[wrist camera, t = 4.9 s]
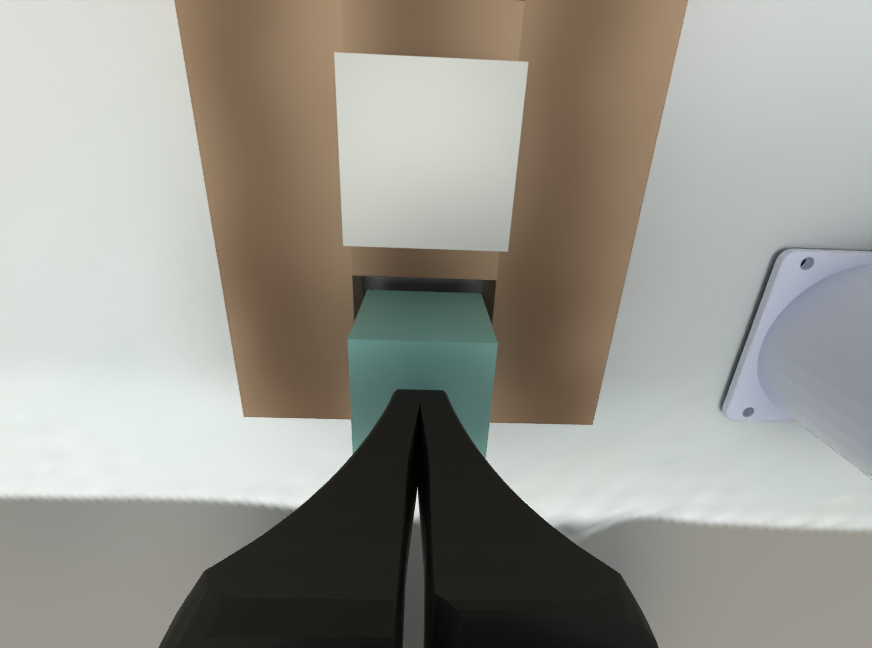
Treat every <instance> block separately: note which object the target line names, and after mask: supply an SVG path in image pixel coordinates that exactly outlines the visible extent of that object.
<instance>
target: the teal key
mask: <svg viewBox="0 0 872 648" xmlns="http://www.w3.org/2000/svg"><path fill="white" fill-rule="evenodd" d="M497 348H498V342H497V339H496V336H495V333H494V330H493V327H492V324H491V321H490V318H489V315H488V312H487V309H486V306H485V303H484V300H483V297H482V294H481V293H457V292H426V291H395V290H367V291H366V294H365V296H364V299H363V301H362V304H361V306H360V309H359V311H358V314H357V317H356V319H355V322H354V324H353V327H352V329H351V332H350V334H349V337H348V360H349V381H350V402H351V424H352V445H353V454H354V452H355V451H356V450H357V449H358V447H359V446H360V445H361V444H362V442H363V441H364V440H365V439H366V437H367V436H368V434H369V433H370V432H371V430H372V429H373V427H374V426H375V424H376V423H377V421H378V420H379V418H380V417H381V415H382V414H383V412H384V410H385V409H386V407H387V405H388V403H389V401H390V399H391V397H392V395H393V393H394V392H395V391H396V390H397V389H412V390H444V391H445V392H446V394H447V395H448V398H449V401H450V403H451V405H452V407H453V409H454V411H455V413H456V415H457V417H458V419H459V420H460V422H461V424H462V425H463V427H464V429H465V430H466V432H467V433H468V435H469V436H470V438H471V440H472V441H473V443H474V444H475V445H476V447H477V448H478V450H479V451H480V452H481V454H482V455H483V456H484V458H486V449H487V440H488V431H489V421H490V412H491V403H492V394H493V385H494V375H495V366H496V357H497Z"/></svg>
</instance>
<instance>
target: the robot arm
mask: <svg viewBox="0 0 872 648" xmlns="http://www.w3.org/2000/svg"><path fill="white" fill-rule="evenodd" d="M805 258H806V262H805V263H804V264H803V265H802V266H801V267H800V265H801V262H802V261H803V260H804V259H805ZM746 408H748V409H747V410H745V409H746ZM744 410H745V411H744ZM722 412H723V414H724V415H725V416H726V417H727V418H729V419H730V420H743V421H786V422H798V423H800V424H801V425H802V426H804V427H805V428H806V429H807V430H809V431H810V432H811V433H813V434H814V435H815V436H816V437H818V438H819V439H820V440H822V441H823V442H824V443H825V444H827V445H828V446H829V447H831V448H832V449H833V450H835V451H836V452H837V453H838V454H840V455H841V456H842V457H844V458H845V459H846V460H847V461H849V462H850V463H851V464H853V465H854V466H855V467H856V468H858V469H859V470H860V471H862V472H863V473H864V474H865V475H867V476H868V477H869V478H871V479H872V251H850V250H822V249H794V248H792V249H787V250H785V251H783V252H782V253H781V254H780V255H779V256H778V258H777V259H776V262H775V264H774V267H773V270H772V273H771V275H770V278H769V281H768V284H767V286H766V289H765V292H764V295H763V297H762V300H761V303H760V305H759V308H758V311H757V314H756V316H755V319H754V322H753V325H752V327H751V330H750V333H749V336H748V338H747V341H746V344H745V347H744V349H743V352H742V355H741V358H740V360H739V363H738V366H737V369H736V371H735V374H734V377H733V380H732V382H731V385H730V388H729V391H728V393H727V396H726V399H725V402H724V404H723V407H722ZM417 487H418V498H419V511H420V524H421V537H422V551H423V564H424V648H658V645H657V642H656V640H655V637H654V635H653V633H652V631H651V629H650V626H649V624H648V622H647V620H646V618H645V616H644V614H643V612H642V610H641V608H640V607H639V605H638V603H637V602H636V599H635V598H634V596H633V594H632V593H631V591H630V589H629V588H628V586H627V585H626V583H625V581H624V579H623V578H622V576H621V575H620V573H618V572H617V571H615V570H614V569H612V568H611V567H609V566H607V565H606V564H605V563H603V562H602V561H600V560H599V559H597V558H595V557H594V556H592V555H591V554H589V553H588V552H586V551H585V550H583V549H582V548H580V547H579V546H577V545H576V544H575V543H573V542H572V541H571V540H569V539H568V538H567V537H565V536H564V535H563V534H561V533H560V532H559V531H558V530H556V529H555V528H554V527H552V526H551V525H550V524H549V523H547V522H546V521H545V520H544V519H543V518H542V517H540V516H539V515H538V514H537V513H536V512H535V511H534V510H533V509H532V508H530V507H529V506H528V505H527V504H526V503H525V502H524V501H523V500H522V499H521V498H520V497H519V496H518V495H517V494H516V493H515V492H514V491H513V490H512V489H511V488H510V487H509V486H508V485H507V484H506V483H505V482H504V481H503V480H502V478H501V477H500V476H499V475H498V474H497V473H496V472H495V470H494V469H493V468H492V467H491V465H490V464H489V463H488V462H487V460H486V459H485V458H484V456H483V455H482V454H481V452H480V451H479V450H478V448H477V447H476V445H475V444H474V443H473V441H472V440H471V438H470V436H469V435H468V433H467V432H466V430H465V429H464V427H463V425H462V424H461V422H460V420H459V419H458V417H457V415H456V413H455V411H454V409H453V407H452V405H451V403H450V401H449V398H448V395H447V394H446V392H445V391H444V390H412V389H397V390H396V391H395V392H394V393H393V395H392V397H391V399H390V401H389V403H388V405H387V407H386V409H385V410H384V412H383V414H382V415H381V417H380V418H379V420H378V421H377V423H376V424H375V426H374V427H373V429H372V430H371V432H370V433H369V434H368V436H367V437H366V439H365V440H364V441H363V442H362V444H361V445H360V446H359V447H358V449H357V450H356V451H355V452H354V454H353V455H352V456H351V457H350V458H349V460H348V461H347V462H346V463H345V464H344V465H343V466H342V467H341V468H340V470H339V471H338V472H337V473H336V474H335V475H334V476H333V477H332V478H331V479H330V480H329V481H328V482H327V483H326V484H325V485H324V486H323V487H321V488H320V489H319V490H318V491H317V492H316V493H315V494H314V495H313V496H312V497H310V498H309V499H308V500H307V501H306V502H305V503H304V504H302V505H301V506H300V507H299V508H298V509H296V510H295V511H294V512H293V513H291V514H290V515H289V516H287V517H286V518H285V519H283V520H282V521H281V522H279V523H278V524H277V525H275V526H274V527H273V528H272V529H270V530H269V531H268V532H266V533H265V534H263V535H262V536H260V537H259V538H257V539H256V540H254V541H253V542H251V543H250V544H248V545H246V546H245V547H243V548H242V549H240V550H238V551H237V552H235V553H233V554H232V555H230V556H229V557H227V558H225V559H224V560H222V561H220V562H219V563H217V564H216V565H214V566H212V567H210V568H209V569H207V570H205V571H204V572H203V574H202V575H201V577H200V578H199V580H198V582H197V583H196V584H195V586H194V588H193V589H192V591H191V592H190V594H189V595H188V596H187V598H186V599H185V601H184V603H183V604H182V606H181V607H180V609H179V611H178V612H177V614H176V615H175V617H174V619H173V621H172V623H171V625H170V627H169V629H168V631H167V633H166V635H165V636H164V638H163V640H162V642H161V644H160V646H159V648H403V628H404V604H405V583H406V573H407V563H408V556H409V548H410V540H411V533H412V525H413V518H414V510H415V502H416V495H417Z"/></svg>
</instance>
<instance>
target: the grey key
mask: <svg viewBox="0 0 872 648" xmlns="http://www.w3.org/2000/svg"><path fill="white" fill-rule="evenodd" d="M334 61H335V82H336V104H337V125H338V146H339V168H340V189H341V210H342V232H343V246H362V247H390V248H418V249H447V250H475V251H503V252H508V246H509V237H510V228H511V219H512V209H513V200H514V191H515V182H516V172H517V163H518V154H519V145H520V135H521V126H522V117H523V108H524V99H525V89H526V80H527V71H528V62H521V61H501V60H480V59H460V58H440V57H419V56H399V55H379V54H358V53H338V52H334Z"/></svg>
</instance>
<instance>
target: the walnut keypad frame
mask: <svg viewBox="0 0 872 648" xmlns="http://www.w3.org/2000/svg"><path fill="white" fill-rule="evenodd" d="M174 1H175V7H176V13H177V19H178V25H179V31H180V37H181V43H182V49H183V55H184V61H185V67H186V73H187V78H188V84H189V90H190V96H191V102H192V108H193V114H194V120H195V126H196V132H197V138H198V144H199V150H200V156H201V162H202V168H203V174H204V180H205V186H206V192H207V198H208V204H209V210H210V216H211V222H212V228H213V234H214V240H215V246H216V252H217V258H218V264H219V270H220V276H221V282H222V288H223V294H224V300H225V306H226V312H227V318H228V324H229V330H230V336H231V342H232V348H233V354H234V360H235V366H236V372H237V378H238V384H239V390H240V396H241V402H242V408H243V414H244V417H272V418H316V419H351V402H350V381H349V360H348V337H349V334H350V332H351V329H352V327H353V324H354V322H355V319H356V317H357V314H358V311H359V309H360V306H361V304H362V301H363V299H364V296H363V276H386V277H416V278H446V279H476V280H486V284H485V295H484V303H485V306H486V309H487V312H488V315H489V318H490V321H491V324H492V327H493V330H494V333H495V336H496V339H497V342H498V348H497V357H496V366H495V375H494V385H493V394H492V403H491V412H490V421H489V422H492V423H536V424H580V425H592V424H593V420H594V416H595V411H596V407H597V402H598V398H599V393H600V389H601V384H602V380H603V376H604V371H605V367H606V362H607V358H608V353H609V349H610V344H611V340H612V336H613V331H614V327H615V322H616V318H617V313H618V309H619V304H620V300H621V296H622V291H623V287H624V282H625V278H626V273H627V269H628V264H629V260H630V256H631V251H632V247H633V242H634V238H635V233H636V229H637V224H638V220H639V216H640V211H641V207H642V202H643V198H644V193H645V189H646V184H647V180H648V176H649V171H650V167H651V162H652V158H653V153H654V149H655V144H656V140H657V136H658V131H659V127H660V122H661V118H662V113H663V109H664V104H665V100H666V96H667V91H668V87H669V82H670V78H671V73H672V69H673V64H674V60H675V56H676V51H677V47H678V42H679V38H680V33H681V29H682V24H683V20H684V16H685V11H686V7H687V2H688V0H174ZM334 52H338V53H358V54H379V55H399V56H419V57H440V58H460V59H480V60H501V61H521V62H528V71H527V80H526V89H525V99H524V108H523V117H522V126H521V135H520V145H519V154H518V163H517V172H516V182H515V191H514V200H513V209H512V219H511V228H510V237H509V246H508V252H503V251H475V250H447V249H418V248H390V247H362V246H343V232H342V210H341V189H340V168H339V146H338V125H337V104H336V82H335V61H334Z"/></svg>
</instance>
